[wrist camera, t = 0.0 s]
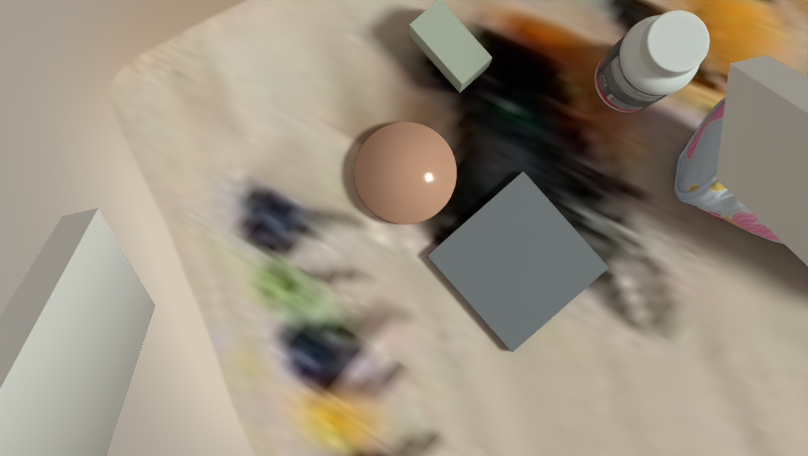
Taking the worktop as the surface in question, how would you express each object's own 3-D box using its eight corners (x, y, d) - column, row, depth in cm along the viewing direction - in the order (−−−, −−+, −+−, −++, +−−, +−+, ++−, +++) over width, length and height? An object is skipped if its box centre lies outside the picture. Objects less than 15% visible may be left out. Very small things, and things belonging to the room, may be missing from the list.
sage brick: (487, 68, 49) (492, 57, 46) (459, 93, 49) (462, 84, 46) (438, 12, 49) (439, -2, 46) (410, 37, 49) (409, 24, 46)
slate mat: (606, 267, 49) (609, 267, 48) (510, 350, 49) (512, 352, 48) (522, 172, 49) (523, 171, 48) (427, 255, 49) (427, 255, 48)
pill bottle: (637, 33, 49) (692, -18, 39) (674, 90, 49) (738, 53, 39) (579, 69, 49) (619, 28, 39) (616, 127, 49) (666, 99, 39)
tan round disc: (476, 178, 49) (477, 177, 48) (400, 245, 49) (400, 245, 48) (409, 102, 49) (409, 100, 48) (334, 169, 49) (333, 168, 48)
